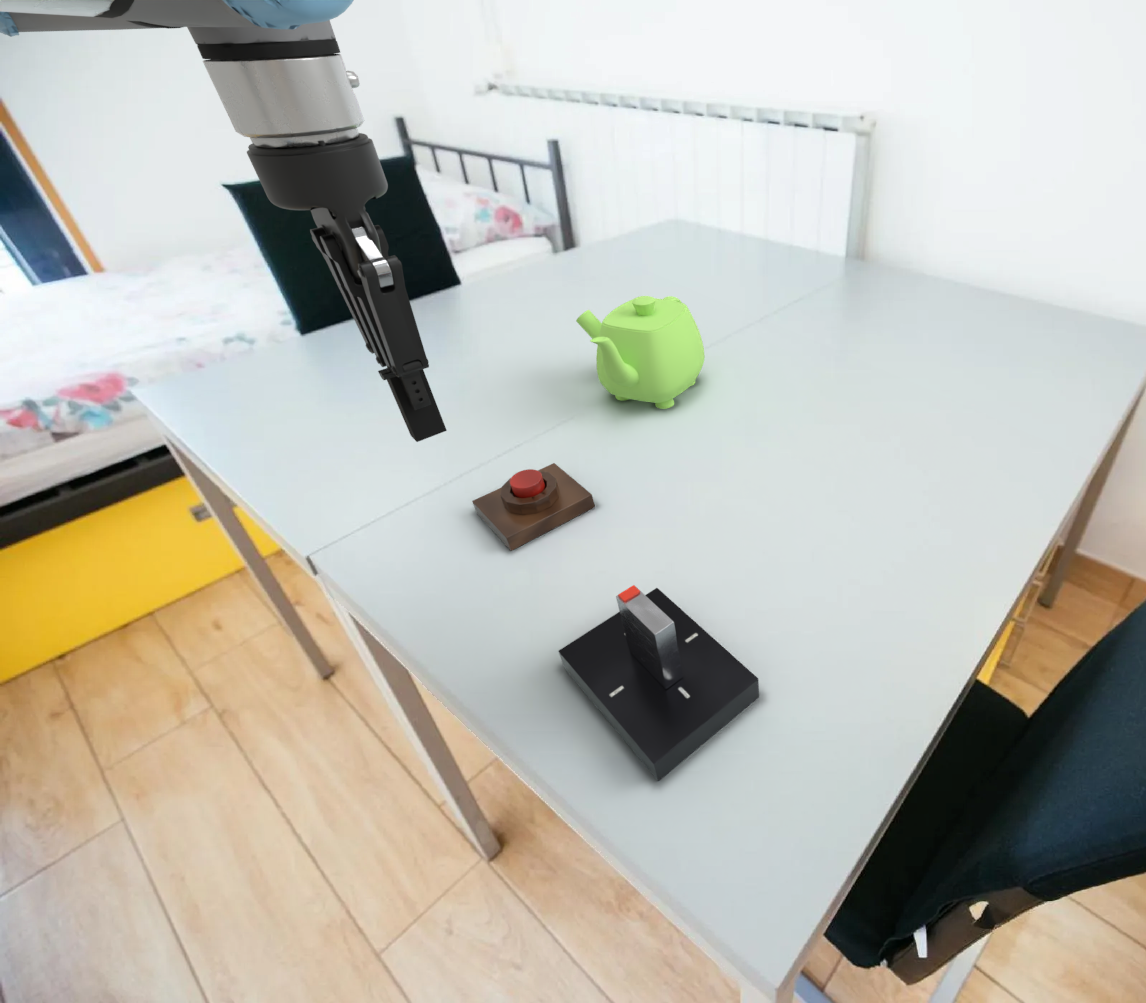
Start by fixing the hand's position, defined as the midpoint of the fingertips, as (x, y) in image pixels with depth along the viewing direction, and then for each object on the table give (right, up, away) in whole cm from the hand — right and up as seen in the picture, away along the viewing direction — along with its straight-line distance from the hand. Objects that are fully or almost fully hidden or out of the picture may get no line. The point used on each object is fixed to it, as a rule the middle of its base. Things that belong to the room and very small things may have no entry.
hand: (428, 433), depth 56 cm
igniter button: (+1, -5, +23) cm, 24 cm away
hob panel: (+20, -24, +5) cm, 32 cm away
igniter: (+1, -7, +26) cm, 27 cm away
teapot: (+10, +13, +50) cm, 53 cm away
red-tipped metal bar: (+20, -22, +3) cm, 30 cm away
